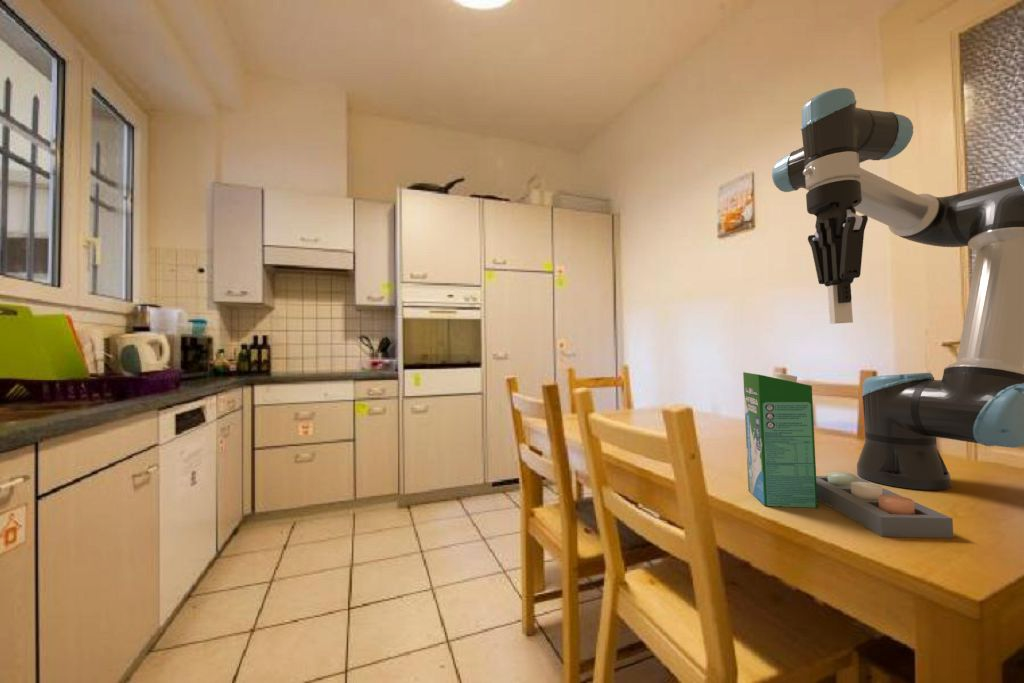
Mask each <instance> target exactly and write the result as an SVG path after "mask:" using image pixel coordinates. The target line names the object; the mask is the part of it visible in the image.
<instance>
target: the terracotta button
mask: <svg viewBox="0 0 1024 683" xmlns="http://www.w3.org/2000/svg"><path fill="white" fill-rule="evenodd" d="M878 500H879V509H881V510H883V511H885V512H887V513H889V514H909V515H915V505H914V502H915V501H914V500H913V499H911V498H908V497H906V496H903V495H900V496H897V495H879V496H878Z"/></svg>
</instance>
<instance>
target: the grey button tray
mask: <svg viewBox="0 0 1024 683" xmlns="http://www.w3.org/2000/svg"><path fill="white" fill-rule="evenodd" d="M855 476H856V475H855ZM856 482H867V483H872V484H874V482H870V481H869V480H867V479H864V478H862V477H860V476H859V477H858V476H856ZM816 483H817V500H820V501H821V502H823V503H825V505H828V506H829V507H831V508H833V509H835V510H836V511H838V512H840V513H841V514H843V515H845V516H846V517H848V518H850V519H851V520H853V521H855V522H857V523H859V524H860V525H861V526H863V527H865V528H867V529H869V530H870V531H872V532H873V533H875V534H877V535H878V536H880V537H882V538H883V537H887V538H888V537H889V538H890V537H891V538H892V537H893V538H894V537H895V538H897V537H898V538H935V539H936V538H937V539H938V538H941V539H942V538H943V539H945V538H946V539H954V525H953V523H954V521H953V517H950V516H948V515H946V514H944V513H941V512H939V511H937V510H934V509H932V508H930V507H927V506H925V505H923V504H920V503H919V502H916V501H914V505H915V515H909V514H889V513H887V512H885V511H883V510H881V509H879V500H878V499H860V498H858V497H856V496H854V495H852V494H851V486H834V485H832V484H830V483H828V475H816ZM882 493H883V495H897V496H901V495H900V494H898V493H895V492H893V491H891V490H888V489H886V488H884V487H882Z"/></svg>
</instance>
